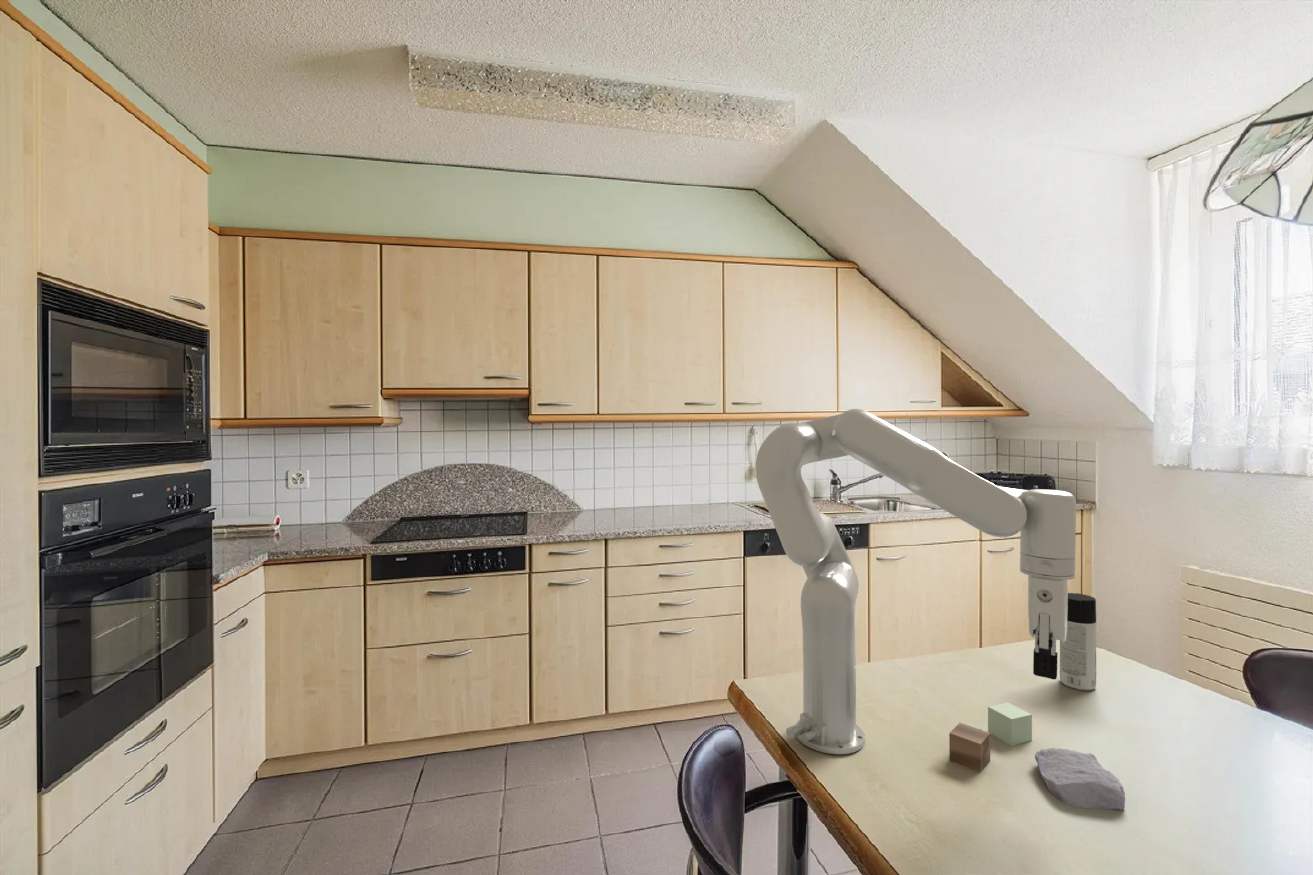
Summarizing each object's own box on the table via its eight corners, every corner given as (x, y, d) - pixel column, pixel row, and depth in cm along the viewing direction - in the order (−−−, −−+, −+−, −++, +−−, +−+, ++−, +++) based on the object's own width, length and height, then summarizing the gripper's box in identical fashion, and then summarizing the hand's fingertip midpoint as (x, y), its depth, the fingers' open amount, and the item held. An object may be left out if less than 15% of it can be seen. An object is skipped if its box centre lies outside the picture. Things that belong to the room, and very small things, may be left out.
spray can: (1104, 691, 127) (1104, 600, 126) (1072, 691, 127) (1073, 600, 126) (1082, 678, 133) (1082, 591, 133) (1052, 678, 133) (1052, 592, 133)
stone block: (1062, 818, 89) (1134, 813, 87) (1054, 786, 90) (1127, 781, 88) (1029, 775, 101) (1092, 770, 99) (1022, 747, 101) (1086, 741, 99)
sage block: (1011, 746, 106) (1011, 719, 106) (987, 732, 111) (988, 706, 111) (1031, 741, 107) (1031, 714, 107) (1007, 727, 112) (1007, 702, 112)
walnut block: (980, 773, 98) (980, 743, 98) (949, 760, 101) (949, 732, 101) (990, 761, 101) (990, 732, 101) (959, 749, 105) (959, 722, 105)
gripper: (1074, 578, 87) (1071, 699, 87) (1076, 559, 99) (1074, 666, 99) (1015, 571, 91) (1013, 685, 92) (1024, 553, 103) (1022, 655, 104)
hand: (1045, 675), depth 96 cm, fingers closed
